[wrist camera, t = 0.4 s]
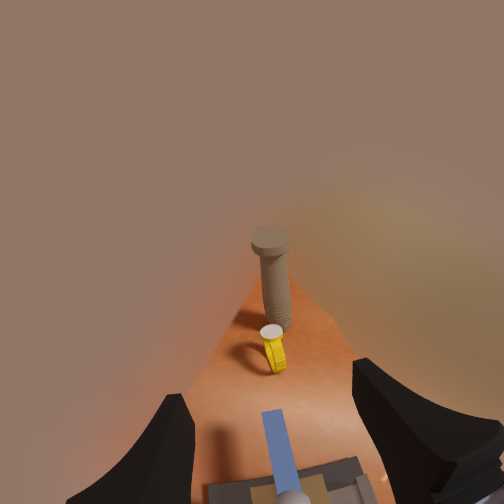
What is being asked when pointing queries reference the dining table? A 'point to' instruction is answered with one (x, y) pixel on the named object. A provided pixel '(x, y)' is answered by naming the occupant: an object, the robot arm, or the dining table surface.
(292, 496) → the lever
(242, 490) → the valve
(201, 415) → the dining table surface
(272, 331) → the watch
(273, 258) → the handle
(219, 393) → the dining table surface
